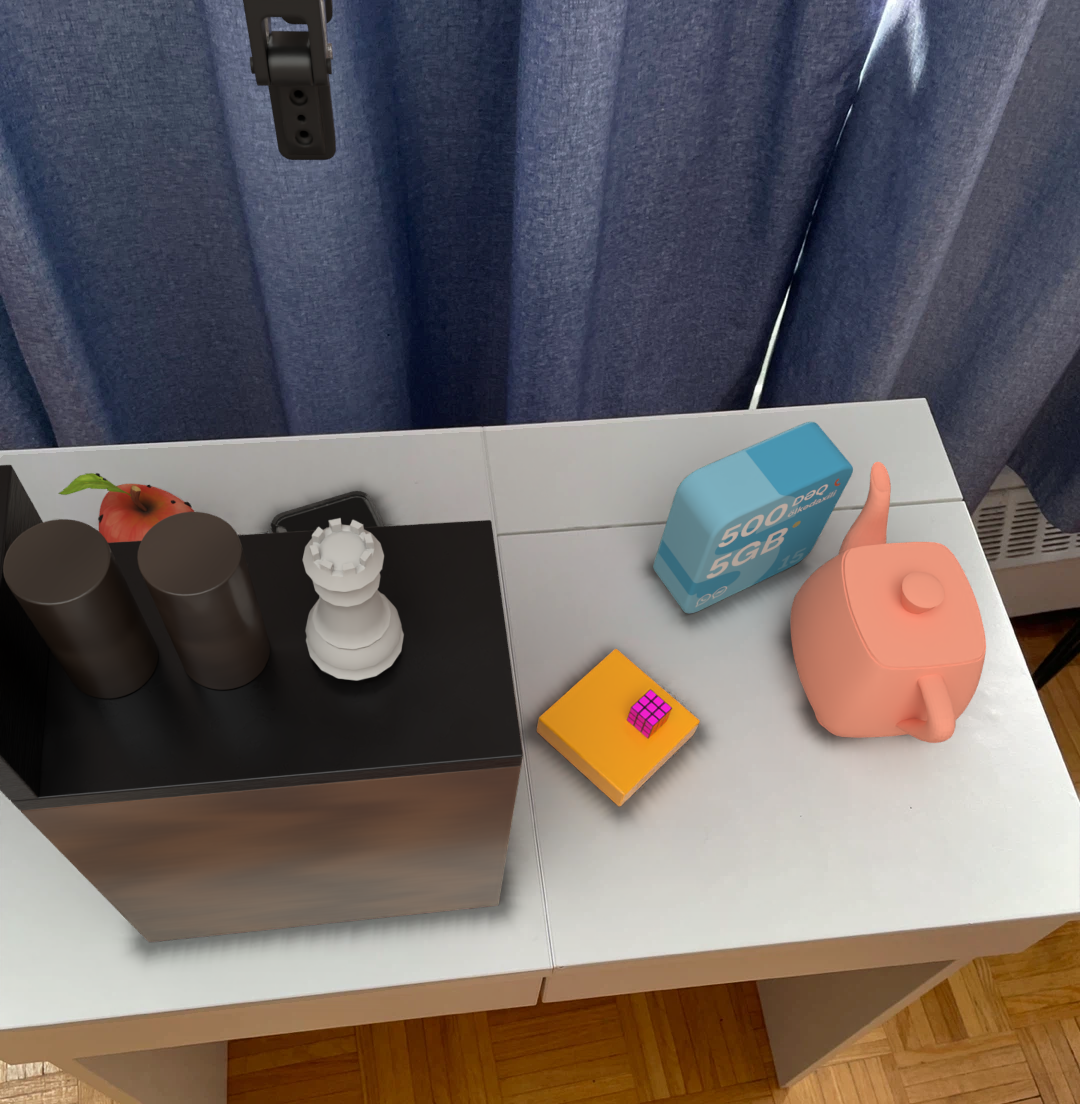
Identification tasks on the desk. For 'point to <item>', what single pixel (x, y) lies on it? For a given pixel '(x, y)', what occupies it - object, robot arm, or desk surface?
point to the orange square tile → (617, 726)
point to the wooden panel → (293, 852)
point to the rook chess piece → (349, 604)
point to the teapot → (887, 633)
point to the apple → (129, 507)
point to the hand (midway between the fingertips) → (308, 83)
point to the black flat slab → (270, 684)
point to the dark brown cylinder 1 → (82, 607)
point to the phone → (329, 513)
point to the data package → (749, 515)
